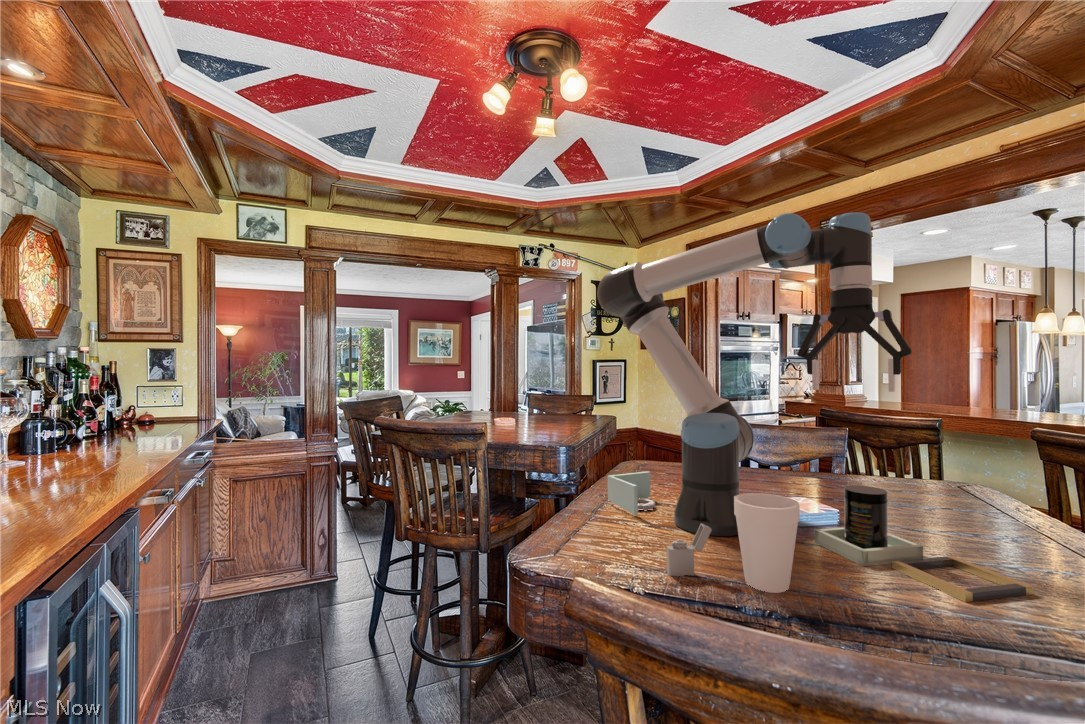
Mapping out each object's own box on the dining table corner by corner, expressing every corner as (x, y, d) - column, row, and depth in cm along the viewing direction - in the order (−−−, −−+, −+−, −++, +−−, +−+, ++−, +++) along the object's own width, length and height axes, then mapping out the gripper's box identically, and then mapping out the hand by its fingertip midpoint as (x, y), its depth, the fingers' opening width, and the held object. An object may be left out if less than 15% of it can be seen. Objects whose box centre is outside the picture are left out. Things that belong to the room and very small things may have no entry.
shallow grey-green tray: (863, 566, 84) (862, 551, 84) (814, 542, 95) (814, 529, 95) (923, 560, 86) (922, 546, 86) (868, 538, 97) (868, 525, 97)
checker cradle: (965, 602, 71) (965, 593, 71) (892, 568, 83) (892, 561, 83) (1032, 594, 73) (1032, 586, 73) (952, 562, 85) (952, 555, 85)
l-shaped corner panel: (634, 519, 112) (634, 486, 112) (607, 505, 123) (607, 475, 124) (677, 512, 117) (677, 480, 117) (648, 500, 128) (647, 471, 128)
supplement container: (891, 556, 86) (891, 496, 86) (846, 549, 89) (845, 491, 89) (884, 543, 92) (884, 487, 92) (842, 538, 95) (841, 483, 95)
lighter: (669, 576, 81) (669, 526, 81) (666, 571, 82) (666, 523, 82) (712, 574, 81) (711, 526, 81) (708, 570, 83) (708, 522, 83)
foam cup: (724, 572, 82) (723, 493, 82) (777, 569, 83) (776, 492, 83) (753, 599, 72) (752, 510, 73) (813, 596, 73) (812, 508, 73)
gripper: (927, 284, 98) (928, 391, 98) (791, 296, 115) (792, 388, 114) (924, 279, 93) (926, 393, 92) (781, 293, 109) (783, 389, 109)
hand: (852, 390), depth 103 cm, fingers open, 13 cm apart
